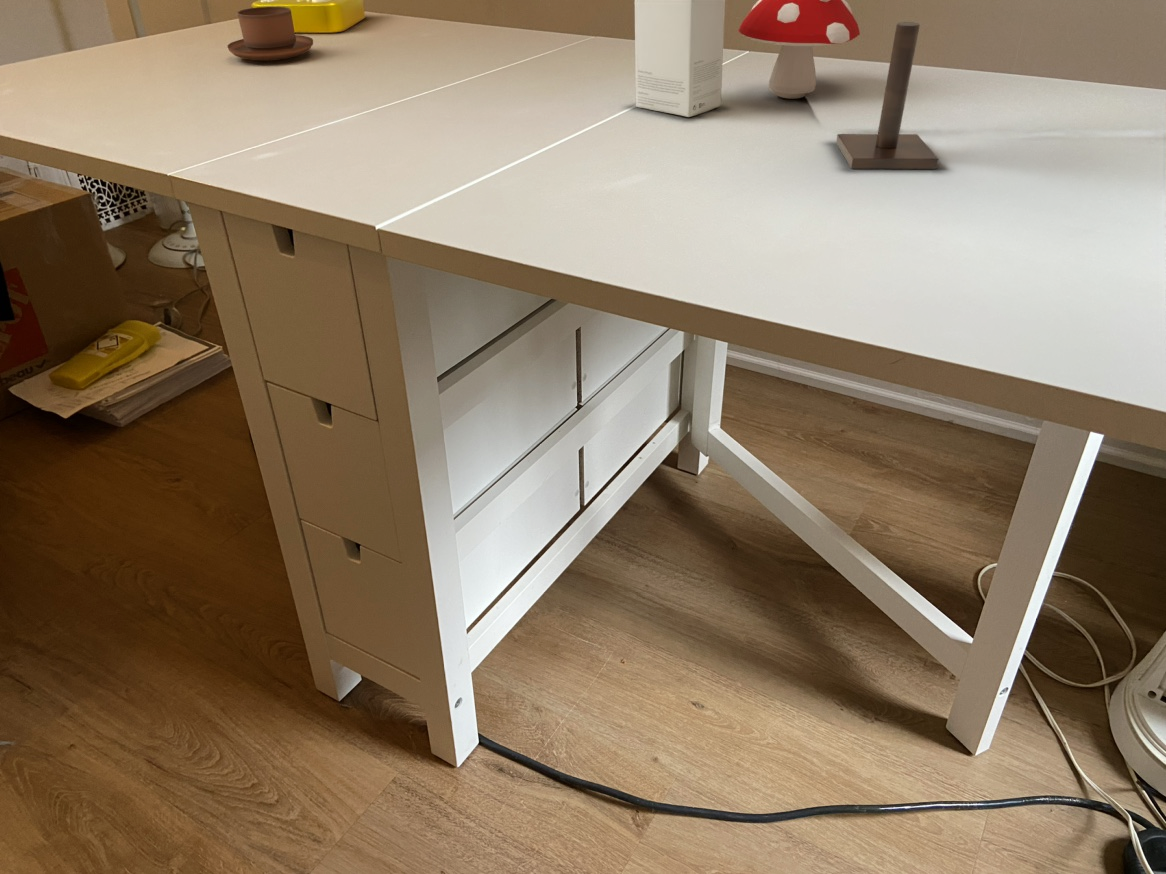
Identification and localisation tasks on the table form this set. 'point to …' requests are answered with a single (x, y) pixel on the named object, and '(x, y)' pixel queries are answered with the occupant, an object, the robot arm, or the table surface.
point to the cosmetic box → (679, 55)
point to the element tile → (320, 14)
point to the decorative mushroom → (798, 37)
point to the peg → (891, 118)
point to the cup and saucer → (268, 35)
